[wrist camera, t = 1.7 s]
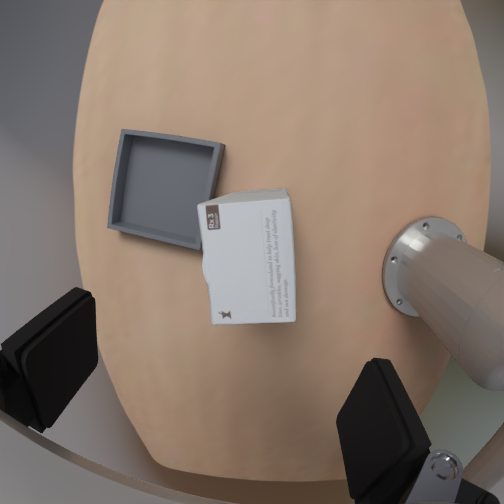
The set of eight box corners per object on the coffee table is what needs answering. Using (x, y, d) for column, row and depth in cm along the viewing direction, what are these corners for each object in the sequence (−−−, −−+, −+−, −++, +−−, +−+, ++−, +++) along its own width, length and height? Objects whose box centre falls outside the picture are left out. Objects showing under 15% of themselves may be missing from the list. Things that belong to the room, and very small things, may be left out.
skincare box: (290, 259, 33) (302, 328, 19) (236, 263, 34) (210, 332, 19) (285, 183, 31) (297, 197, 17) (228, 187, 31) (192, 205, 17)
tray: (224, 144, 30) (220, 143, 28) (204, 243, 33) (199, 250, 31) (132, 131, 30) (121, 128, 28) (118, 223, 33) (107, 227, 31)
